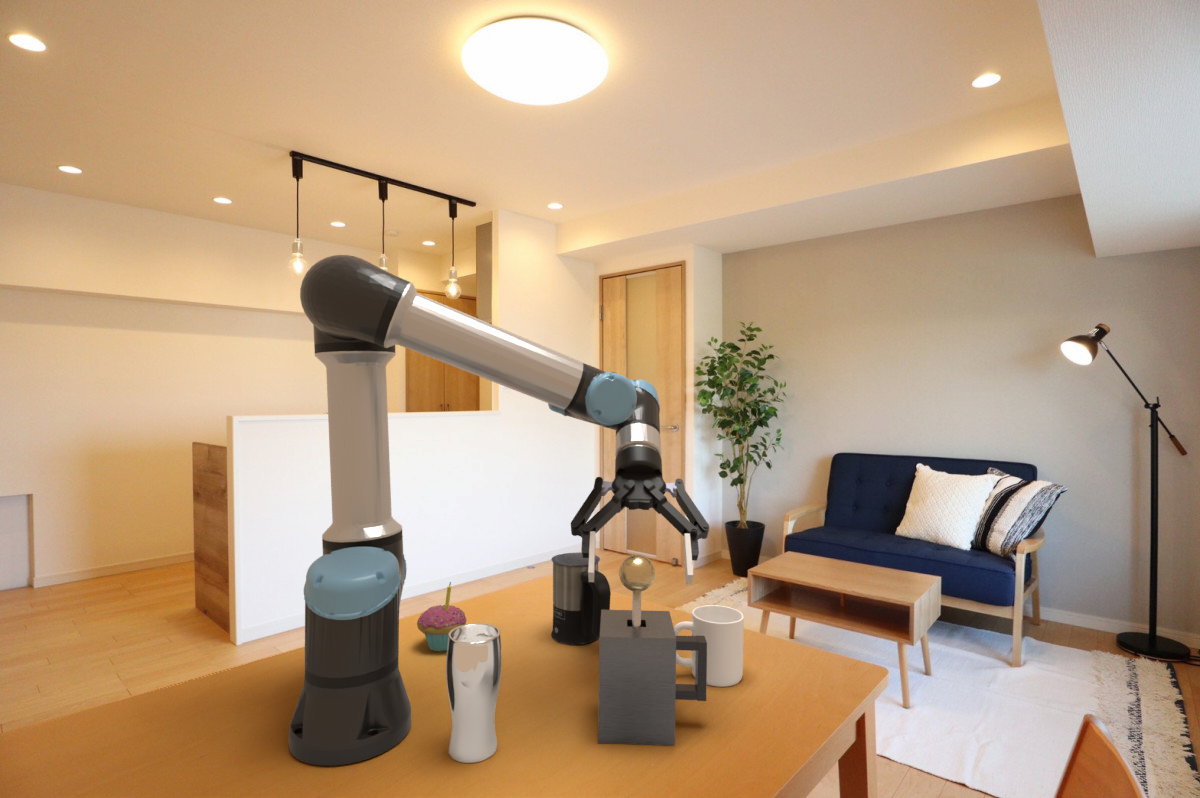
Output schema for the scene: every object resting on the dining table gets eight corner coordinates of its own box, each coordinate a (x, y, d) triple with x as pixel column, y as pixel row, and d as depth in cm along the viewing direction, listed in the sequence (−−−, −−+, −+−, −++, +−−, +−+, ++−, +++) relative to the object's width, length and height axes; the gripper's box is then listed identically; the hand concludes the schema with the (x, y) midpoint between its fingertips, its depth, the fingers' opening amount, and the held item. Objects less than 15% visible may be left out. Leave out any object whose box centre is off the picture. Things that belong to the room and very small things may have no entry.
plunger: (606, 727, 80) (608, 562, 80) (606, 697, 88) (608, 547, 88) (666, 728, 80) (668, 563, 80) (661, 698, 88) (663, 548, 88)
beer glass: (473, 772, 73) (475, 648, 72) (433, 753, 76) (434, 635, 76) (511, 744, 78) (513, 629, 78) (472, 728, 82) (473, 618, 82)
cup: (749, 687, 95) (750, 622, 95) (674, 688, 94) (674, 623, 94) (734, 663, 103) (735, 604, 103) (664, 665, 102) (665, 605, 102)
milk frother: (540, 637, 113) (541, 559, 113) (589, 613, 126) (590, 542, 126) (602, 657, 105) (603, 572, 105) (648, 629, 118) (649, 553, 118)
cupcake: (475, 643, 110) (476, 578, 110) (440, 660, 103) (441, 590, 103) (442, 633, 115) (443, 570, 114) (406, 648, 107) (407, 581, 107)
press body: (598, 743, 79) (599, 636, 79) (600, 704, 89) (601, 609, 89) (710, 746, 79) (711, 639, 79) (699, 706, 89) (700, 611, 89)
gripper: (712, 473, 101) (727, 593, 86) (563, 471, 101) (552, 589, 86) (718, 444, 95) (735, 567, 80) (560, 442, 96) (548, 562, 81)
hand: (640, 578), depth 83 cm, fingers open, 13 cm apart
